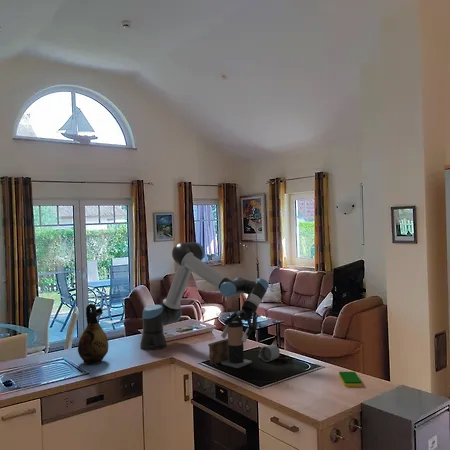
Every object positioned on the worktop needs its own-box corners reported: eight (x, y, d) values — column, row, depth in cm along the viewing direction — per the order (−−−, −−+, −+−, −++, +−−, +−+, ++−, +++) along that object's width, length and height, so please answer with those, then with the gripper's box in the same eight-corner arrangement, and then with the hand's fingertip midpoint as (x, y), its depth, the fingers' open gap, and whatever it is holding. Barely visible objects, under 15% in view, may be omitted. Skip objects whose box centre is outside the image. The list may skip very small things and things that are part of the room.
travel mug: (239, 364, 220) (237, 323, 221) (226, 362, 224) (224, 322, 225) (246, 360, 226) (245, 320, 227) (233, 358, 231) (232, 319, 231)
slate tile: (221, 364, 225) (220, 362, 225) (235, 359, 233) (235, 357, 233) (237, 368, 217) (237, 366, 217) (251, 362, 225) (251, 360, 225)
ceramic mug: (281, 359, 230) (280, 344, 231) (271, 363, 224) (271, 347, 225) (264, 356, 237) (263, 341, 238) (255, 359, 231) (254, 344, 232)
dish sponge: (355, 376, 202) (354, 371, 202) (362, 387, 188) (361, 381, 188) (339, 376, 202) (338, 371, 202) (344, 387, 189) (344, 381, 189)
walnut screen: (212, 365, 224) (212, 344, 224) (208, 364, 225) (208, 344, 225) (237, 356, 237) (236, 337, 237) (233, 355, 239) (233, 336, 239)
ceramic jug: (114, 361, 234) (113, 303, 234) (87, 368, 223) (86, 308, 223) (97, 355, 246) (96, 300, 246) (70, 362, 234) (69, 304, 235)
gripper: (273, 311, 228) (255, 347, 217) (236, 306, 245) (218, 339, 234) (267, 302, 224) (248, 338, 213) (230, 298, 241) (211, 331, 230)
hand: (232, 339), depth 224 cm, fingers open, 13 cm apart
